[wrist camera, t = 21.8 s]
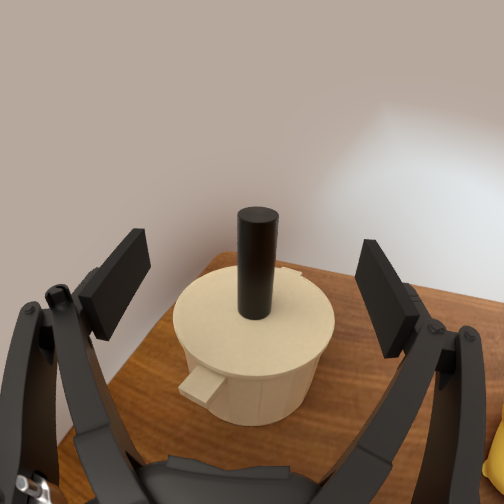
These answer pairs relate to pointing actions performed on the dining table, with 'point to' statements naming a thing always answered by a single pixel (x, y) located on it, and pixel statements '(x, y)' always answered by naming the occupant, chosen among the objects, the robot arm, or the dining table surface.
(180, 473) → the robot arm
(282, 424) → the dining table surface
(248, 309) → the lid
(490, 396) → the dining table surface
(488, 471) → the teapot
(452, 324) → the dining table surface
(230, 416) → the pot
